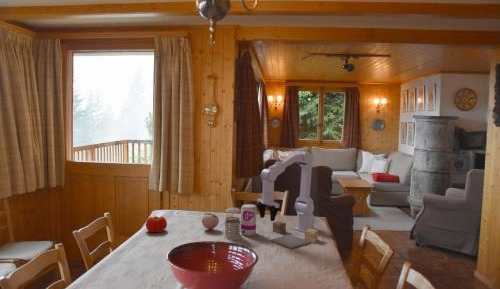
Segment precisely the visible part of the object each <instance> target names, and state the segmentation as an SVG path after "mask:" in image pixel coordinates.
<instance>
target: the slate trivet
mask: <svg viewBox="0 0 500 289" xmlns="http://www.w3.org/2000/svg"><path fill="white" fill-rule="evenodd" d="M269 242H270V243H274V244H276V245H278V246H282V247H284V248H287V249H289V250H293V249H295V248H299V247H303V246H307V245H310V244H311V242H310V241H307V240H305V238H304V239H303V238H301V237H298V236H296V235H295V236H294V235H292V234H287V235H284V236H279V237H276V238H271V239H270V240H269Z"/></svg>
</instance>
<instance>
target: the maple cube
mask: <svg viewBox="0 0 500 289" xmlns="http://www.w3.org/2000/svg"><path fill="white" fill-rule="evenodd" d="M318 232H319V231H318V229H314V230H313V229H308V230H306V231H305V232H304V240H307V241H310V243H316V242H317V241H318V237H319V233H318Z"/></svg>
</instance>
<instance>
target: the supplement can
mask: <svg viewBox="0 0 500 289" xmlns="http://www.w3.org/2000/svg"><path fill="white" fill-rule="evenodd" d="M240 210H241V212H240V234H241V236H242V235H243V236H249V237H251V236H255V234H257V212H258V211H257V210H258V207H257V205H256V204H251V203H250V204H249V203H245V204H243V205H242V206H241V208H240Z"/></svg>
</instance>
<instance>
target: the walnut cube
mask: <svg viewBox="0 0 500 289" xmlns="http://www.w3.org/2000/svg"><path fill="white" fill-rule="evenodd" d="M286 228H287V223H286V222H284V221H280V220H279V221H272V232H273V233H276V234H283V233H286V232H287V229H286Z"/></svg>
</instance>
